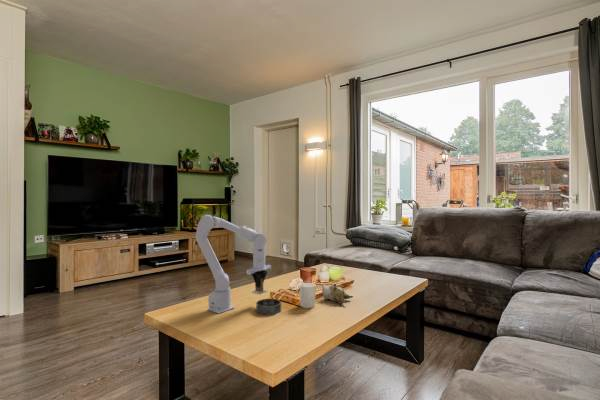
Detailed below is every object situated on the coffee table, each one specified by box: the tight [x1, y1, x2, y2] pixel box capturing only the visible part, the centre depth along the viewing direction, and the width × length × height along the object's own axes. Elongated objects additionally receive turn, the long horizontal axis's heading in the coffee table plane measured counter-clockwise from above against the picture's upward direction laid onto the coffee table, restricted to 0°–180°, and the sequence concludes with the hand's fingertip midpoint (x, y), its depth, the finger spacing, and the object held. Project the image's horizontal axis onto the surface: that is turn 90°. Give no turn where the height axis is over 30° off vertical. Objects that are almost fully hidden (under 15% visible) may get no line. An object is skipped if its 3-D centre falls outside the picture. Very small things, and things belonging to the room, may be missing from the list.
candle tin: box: [255, 298, 282, 316], centre depth 151 cm, size 11×11×4 cm
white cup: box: [298, 282, 317, 309], centre depth 157 cm, size 8×8×10 cm
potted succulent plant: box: [321, 284, 354, 304], centre depth 164 cm, size 11×9×15 cm
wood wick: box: [251, 278, 268, 295], centre depth 157 cm, size 5×5×7 cm
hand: (259, 286), depth 157 cm, fingers closed on wood wick
